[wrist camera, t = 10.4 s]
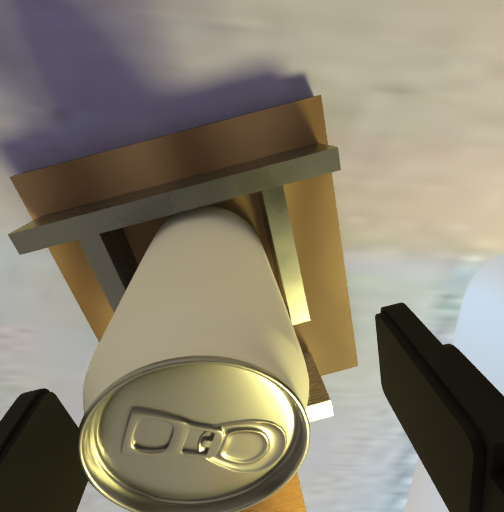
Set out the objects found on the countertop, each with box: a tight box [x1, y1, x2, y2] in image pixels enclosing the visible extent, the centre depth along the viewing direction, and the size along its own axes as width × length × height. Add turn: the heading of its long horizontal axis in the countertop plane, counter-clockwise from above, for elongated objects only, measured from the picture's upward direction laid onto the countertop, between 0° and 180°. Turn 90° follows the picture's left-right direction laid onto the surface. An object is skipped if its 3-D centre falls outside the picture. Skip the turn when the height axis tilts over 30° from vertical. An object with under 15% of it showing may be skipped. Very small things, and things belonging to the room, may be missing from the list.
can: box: [77, 206, 310, 512], centre depth 13 cm, size 6×6×12 cm
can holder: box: [8, 143, 341, 325], centre depth 17 cm, size 15×9×3 cm, turn 104°
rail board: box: [10, 95, 358, 376], centre depth 20 cm, size 16×18×1 cm
